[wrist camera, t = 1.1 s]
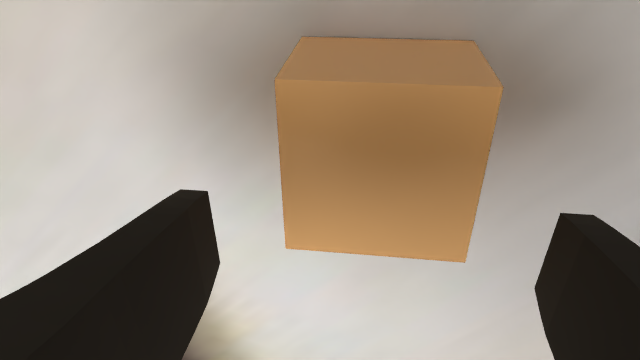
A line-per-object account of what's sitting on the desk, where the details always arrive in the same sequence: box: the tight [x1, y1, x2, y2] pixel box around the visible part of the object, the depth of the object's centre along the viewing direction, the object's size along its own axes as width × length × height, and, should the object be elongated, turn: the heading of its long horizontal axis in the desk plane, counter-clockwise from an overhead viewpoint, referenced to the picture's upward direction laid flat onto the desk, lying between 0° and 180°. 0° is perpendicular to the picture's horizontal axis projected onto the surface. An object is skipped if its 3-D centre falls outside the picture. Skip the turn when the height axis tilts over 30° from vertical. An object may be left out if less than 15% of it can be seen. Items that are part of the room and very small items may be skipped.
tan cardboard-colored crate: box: [275, 37, 503, 262], centre depth 13 cm, size 5×5×4 cm
